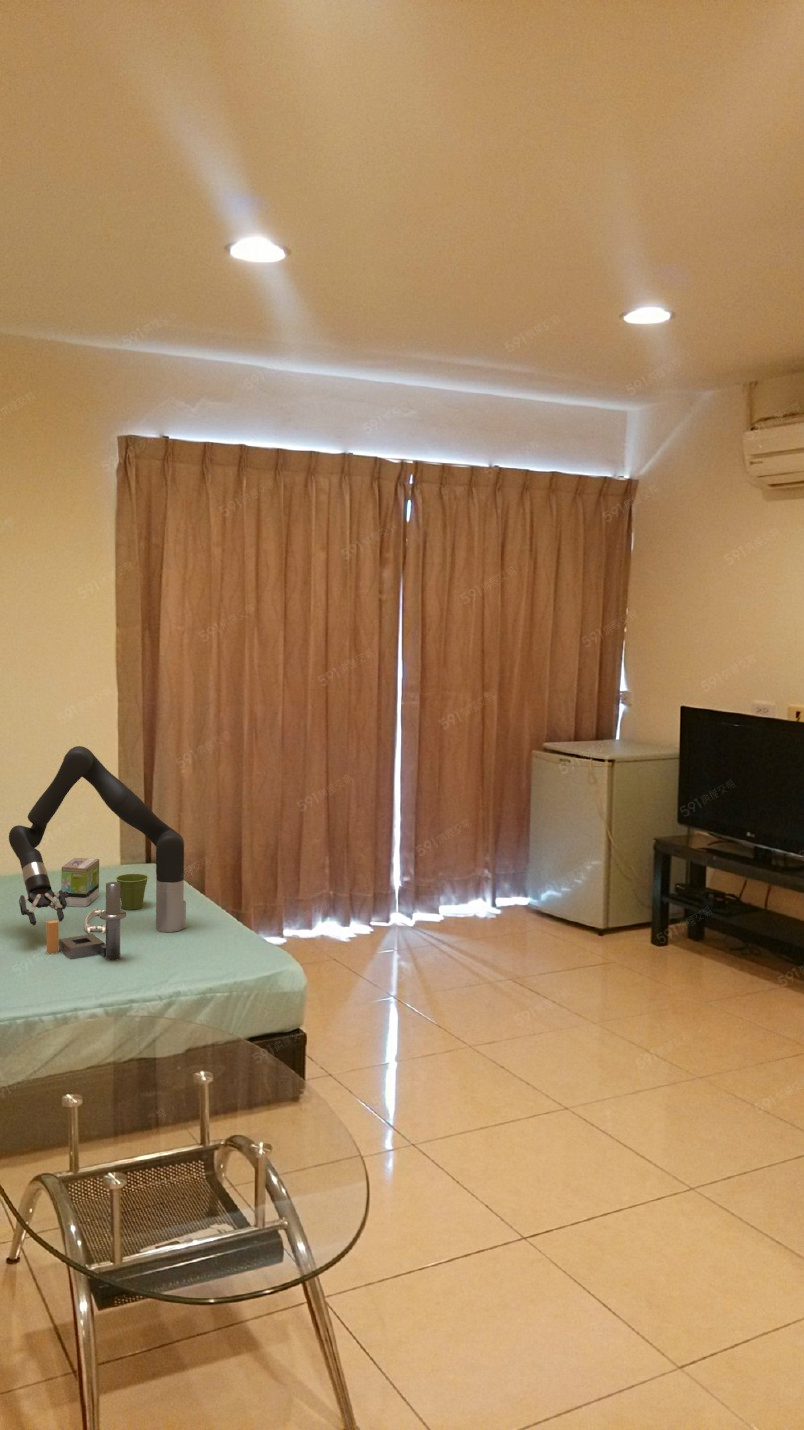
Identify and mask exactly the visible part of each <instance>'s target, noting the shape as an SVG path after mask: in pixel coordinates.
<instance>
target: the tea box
mask: <svg viewBox="0 0 804 1430" xmlns="http://www.w3.org/2000/svg"><path fill="white" fill-rule="evenodd" d="M60 875H61V878H60V879H61V880H60V883H61V884H60V890H62V891H63V894H64V897H65V899H66V902H67V906H66V907H75V908H76V907H79V908H83V907H84V908H86V907H88V906H89V905H90V904H91V903H92V902H93V901H95V900H96V899H97V898H98V897H100V859H99V858H85V857H84V858H83V857H73V858H72V859H71V860H70V861H68V862H67V863H65V864H63V866H61V874H60Z"/></svg>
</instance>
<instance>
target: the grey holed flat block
mask: <svg viewBox="0 0 804 1430" xmlns="http://www.w3.org/2000/svg"><path fill="white" fill-rule="evenodd" d="M105 910H106V911H103V910H102V911H103V912H102V911H101V913H100V915H99V918H100V919H101V920H105V924H106V932H105V942H104V941H103V940H101V939H100V938H99V937H97V936H96V935H95V934H93V933H91V934H89V933H87V934H84V935H83V934H82V935H77V936H70V937H65V938H59V952H61V951H62V952H63V953H64V956H66V957H67V958H69V959H70V960H73V959H74V960H75V959H79V958H85V957H86V958H87V957H91V956H96V955H100V956H101V957H102V958H105V960H106V961H118V960H119V959H121V920H122V919H125V918H126V917H127V912H126V911H125V910H122V909H121V898H120V883H119V882H117V881H109V882H106V883H105ZM62 952H61V953H62ZM63 953H62V954H63ZM117 959H118V960H117Z"/></svg>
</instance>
